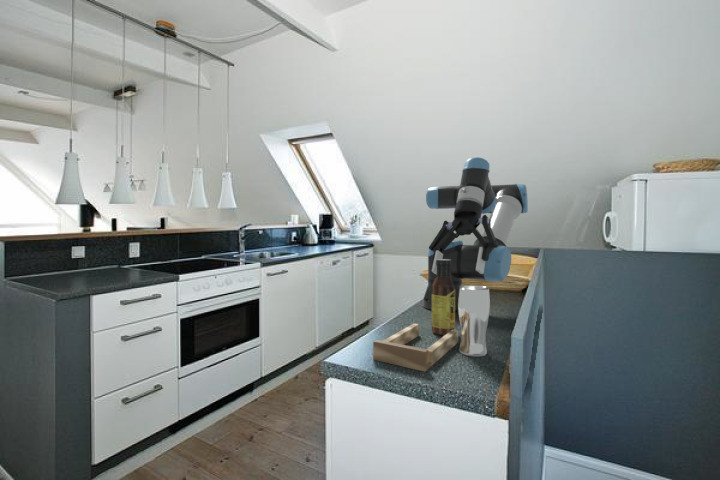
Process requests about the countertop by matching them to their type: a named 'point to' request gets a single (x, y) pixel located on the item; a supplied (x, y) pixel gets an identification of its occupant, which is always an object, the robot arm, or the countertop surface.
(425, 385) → the countertop surface
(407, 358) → the bracket
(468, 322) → the beer glass
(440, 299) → the sauce bottle
